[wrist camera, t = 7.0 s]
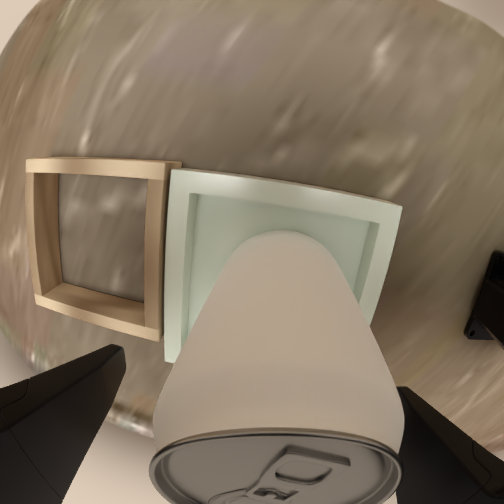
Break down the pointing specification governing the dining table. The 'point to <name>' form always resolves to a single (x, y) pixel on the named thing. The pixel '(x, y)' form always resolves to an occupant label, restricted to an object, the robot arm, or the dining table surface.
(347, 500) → the can
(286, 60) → the dining table surface
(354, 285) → the tray
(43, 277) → the collar
